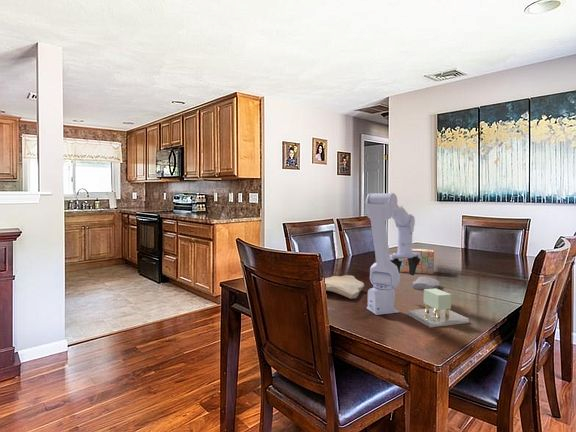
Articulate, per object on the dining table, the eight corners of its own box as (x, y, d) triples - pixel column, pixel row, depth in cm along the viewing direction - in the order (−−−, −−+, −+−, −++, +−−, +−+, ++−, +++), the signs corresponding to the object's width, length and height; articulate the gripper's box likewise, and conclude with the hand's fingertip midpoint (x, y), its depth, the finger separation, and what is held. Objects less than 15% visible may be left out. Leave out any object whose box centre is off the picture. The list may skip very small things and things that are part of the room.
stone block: (440, 290, 174) (418, 283, 180) (442, 280, 173) (420, 273, 178) (432, 297, 164) (410, 289, 170) (435, 287, 163) (412, 279, 169)
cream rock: (317, 286, 180) (299, 292, 162) (318, 270, 180) (300, 275, 162) (367, 294, 168) (353, 302, 150) (368, 277, 168) (354, 283, 150)
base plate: (430, 327, 122) (430, 314, 122) (407, 314, 135) (407, 302, 134) (468, 322, 126) (468, 309, 126) (442, 310, 139) (443, 298, 138)
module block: (438, 310, 126) (438, 295, 125) (423, 303, 133) (423, 289, 133) (450, 308, 127) (451, 294, 127) (435, 302, 135) (435, 288, 134)
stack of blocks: (392, 271, 206) (392, 249, 205) (392, 269, 212) (393, 247, 211) (433, 274, 199) (434, 251, 198) (433, 271, 205) (433, 249, 204)
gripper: (396, 245, 147) (396, 279, 148) (425, 243, 153) (425, 276, 154) (385, 243, 154) (385, 275, 155) (413, 241, 159) (413, 272, 160)
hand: (404, 275), depth 155 cm, fingers open, 7 cm apart
